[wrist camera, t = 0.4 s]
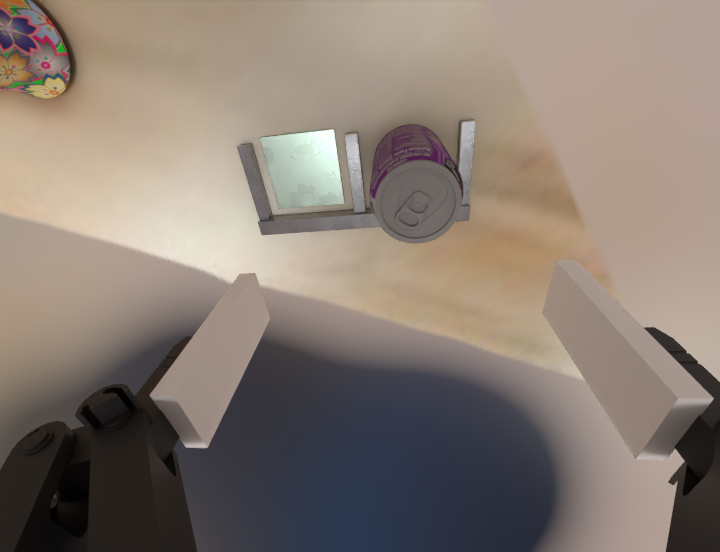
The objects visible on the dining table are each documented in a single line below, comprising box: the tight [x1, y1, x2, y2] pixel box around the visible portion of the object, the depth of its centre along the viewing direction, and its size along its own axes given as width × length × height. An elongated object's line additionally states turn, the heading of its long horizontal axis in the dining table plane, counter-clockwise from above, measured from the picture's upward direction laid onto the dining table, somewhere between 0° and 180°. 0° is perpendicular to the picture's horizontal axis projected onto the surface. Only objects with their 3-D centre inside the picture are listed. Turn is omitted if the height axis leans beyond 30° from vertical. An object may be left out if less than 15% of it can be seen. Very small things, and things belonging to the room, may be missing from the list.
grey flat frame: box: [237, 119, 475, 235], centre depth 33 cm, size 10×23×2 cm, turn 96°
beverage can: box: [369, 125, 464, 243], centre depth 28 cm, size 7×7×12 cm
